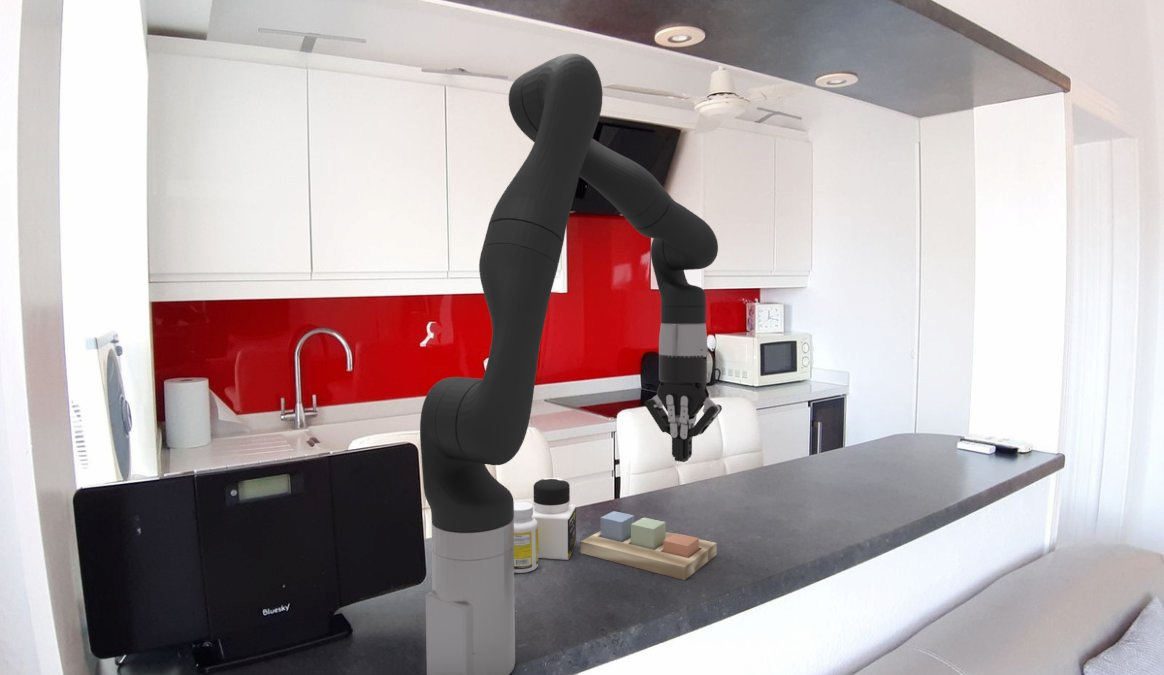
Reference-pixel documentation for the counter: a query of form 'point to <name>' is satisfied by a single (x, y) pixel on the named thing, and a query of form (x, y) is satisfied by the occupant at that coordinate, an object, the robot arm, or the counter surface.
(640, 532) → the sage button
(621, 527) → the slate button
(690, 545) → the terracotta button
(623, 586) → the counter surface
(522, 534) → the supplement bottle
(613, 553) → the board
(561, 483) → the medicine bottle
